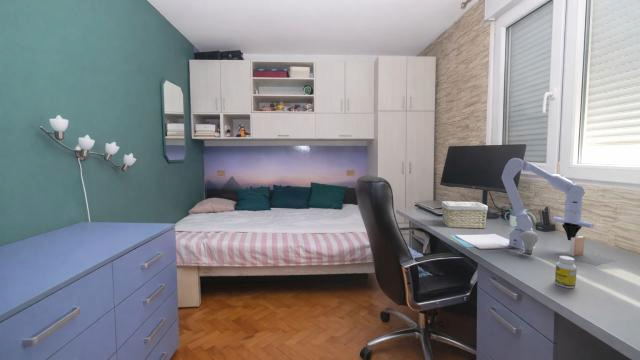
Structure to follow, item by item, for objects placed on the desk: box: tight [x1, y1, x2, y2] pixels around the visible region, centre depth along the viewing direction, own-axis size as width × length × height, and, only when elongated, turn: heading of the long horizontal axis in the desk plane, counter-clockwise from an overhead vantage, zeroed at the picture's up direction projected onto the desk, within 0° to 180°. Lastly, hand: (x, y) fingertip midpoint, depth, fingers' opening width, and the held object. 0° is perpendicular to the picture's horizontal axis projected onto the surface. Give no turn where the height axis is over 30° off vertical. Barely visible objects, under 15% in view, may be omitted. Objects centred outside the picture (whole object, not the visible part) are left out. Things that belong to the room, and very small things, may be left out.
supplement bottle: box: [554, 255, 578, 289], centre depth 97 cm, size 5×5×10 cm
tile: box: [569, 235, 586, 256], centre depth 126 cm, size 7×2×8 cm, turn 111°
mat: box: [554, 250, 618, 266], centre depth 123 cm, size 16×15×1 cm
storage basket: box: [441, 200, 489, 229], centre depth 181 cm, size 24×16×15 cm
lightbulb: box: [521, 231, 539, 255], centre depth 128 cm, size 6×6×11 cm
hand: (570, 240), depth 128 cm, fingers closed
